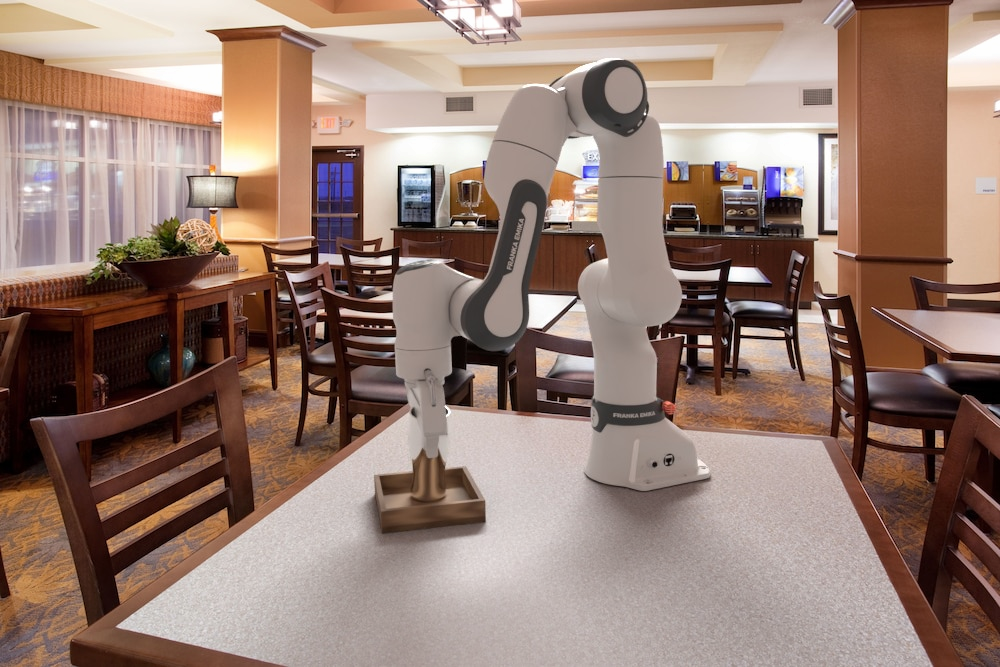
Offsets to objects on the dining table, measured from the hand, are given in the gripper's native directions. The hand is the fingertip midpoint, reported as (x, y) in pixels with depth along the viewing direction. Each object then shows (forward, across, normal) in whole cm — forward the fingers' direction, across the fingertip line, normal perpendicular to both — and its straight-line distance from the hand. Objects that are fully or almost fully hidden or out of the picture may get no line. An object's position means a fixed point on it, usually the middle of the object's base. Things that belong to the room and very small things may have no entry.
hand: (427, 447), depth 117 cm
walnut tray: (+10, 0, 0) cm, 10 cm away
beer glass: (+9, +3, 0) cm, 9 cm away
